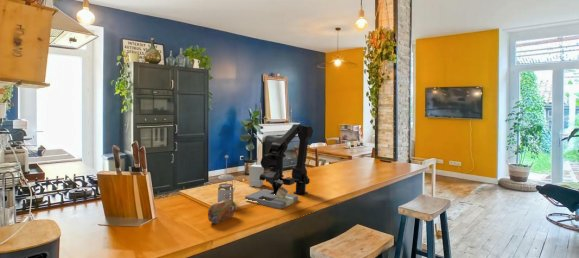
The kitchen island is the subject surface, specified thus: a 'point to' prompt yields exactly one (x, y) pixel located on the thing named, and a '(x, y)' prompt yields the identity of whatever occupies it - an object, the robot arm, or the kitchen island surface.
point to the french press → (225, 186)
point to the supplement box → (255, 175)
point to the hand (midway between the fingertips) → (276, 194)
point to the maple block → (282, 192)
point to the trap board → (271, 199)
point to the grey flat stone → (221, 211)
